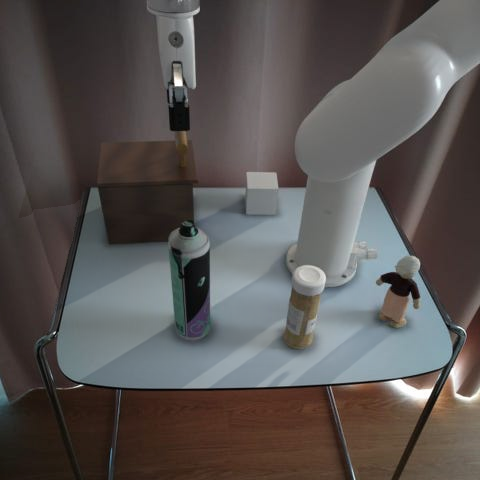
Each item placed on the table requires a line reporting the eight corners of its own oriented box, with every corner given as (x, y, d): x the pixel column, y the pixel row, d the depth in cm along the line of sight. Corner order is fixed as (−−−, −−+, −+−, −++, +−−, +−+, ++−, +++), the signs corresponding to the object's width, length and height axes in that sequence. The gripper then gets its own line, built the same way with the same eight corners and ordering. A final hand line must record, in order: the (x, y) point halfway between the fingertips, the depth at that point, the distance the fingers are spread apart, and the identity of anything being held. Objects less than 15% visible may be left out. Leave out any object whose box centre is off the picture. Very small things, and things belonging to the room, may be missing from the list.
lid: (192, 143, 93) (191, 116, 89) (198, 183, 84) (197, 154, 80) (102, 146, 91) (97, 118, 88) (97, 187, 82) (91, 158, 78)
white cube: (246, 214, 99) (247, 188, 95) (245, 197, 103) (246, 171, 99) (276, 215, 99) (278, 188, 95) (273, 198, 103) (276, 172, 99)
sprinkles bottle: (315, 347, 76) (331, 283, 66) (287, 352, 75) (298, 288, 65) (306, 326, 79) (319, 261, 69) (279, 330, 78) (288, 265, 68)
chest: (190, 198, 102) (187, 144, 93) (194, 239, 93) (192, 184, 84) (111, 201, 100) (102, 146, 91) (109, 244, 91) (97, 187, 82)
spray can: (205, 343, 76) (203, 239, 61) (171, 337, 76) (160, 232, 62) (213, 318, 79) (213, 214, 65) (181, 312, 80) (173, 208, 65)
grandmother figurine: (415, 320, 81) (441, 260, 71) (407, 334, 78) (433, 275, 69) (371, 301, 83) (390, 241, 74) (362, 315, 81) (381, 255, 72)
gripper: (204, 18, 64) (205, 141, 77) (195, -19, 76) (196, 93, 89) (146, 17, 63) (156, 142, 76) (145, -20, 75) (154, 94, 88)
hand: (178, 116), depth 82 cm, fingers open, 9 cm apart
